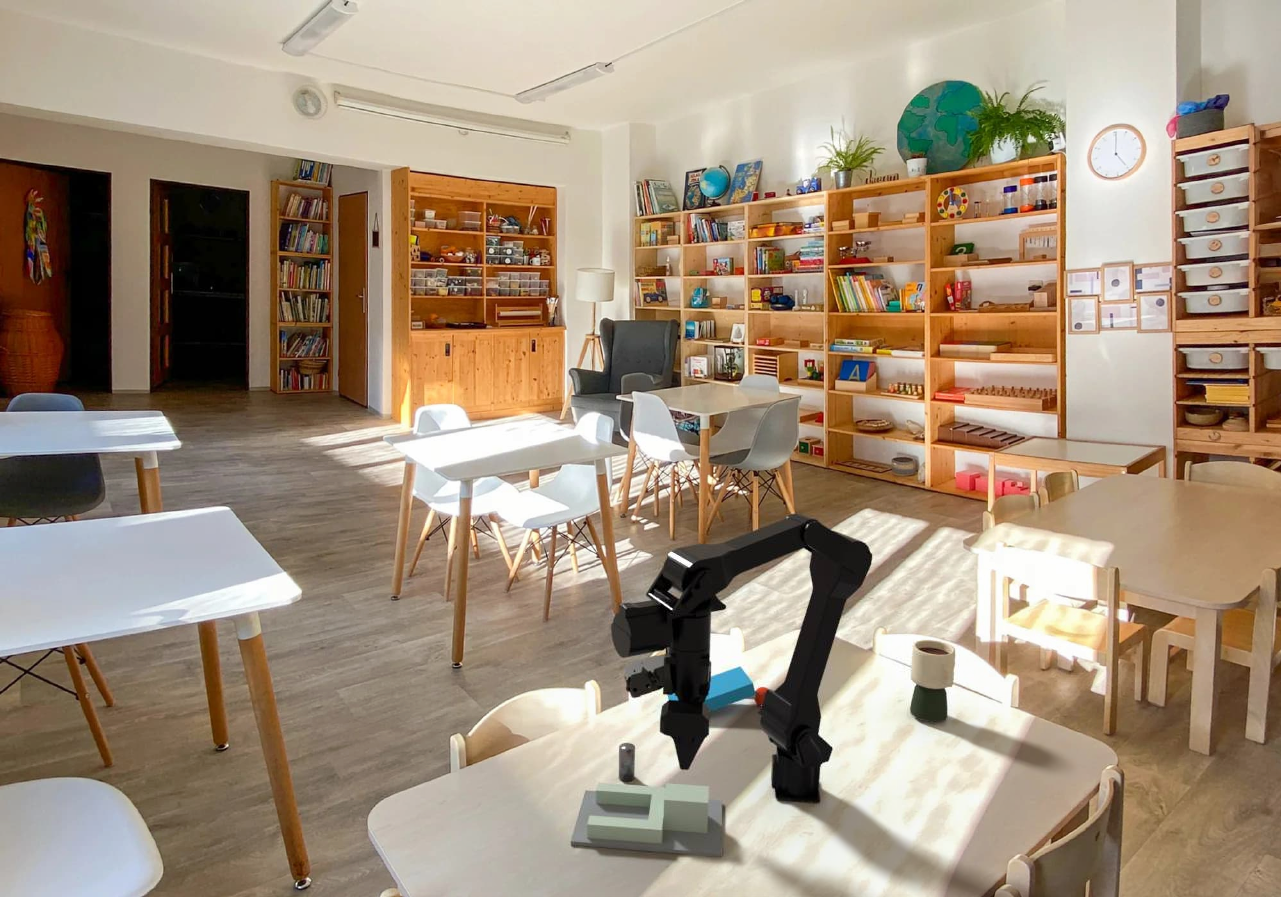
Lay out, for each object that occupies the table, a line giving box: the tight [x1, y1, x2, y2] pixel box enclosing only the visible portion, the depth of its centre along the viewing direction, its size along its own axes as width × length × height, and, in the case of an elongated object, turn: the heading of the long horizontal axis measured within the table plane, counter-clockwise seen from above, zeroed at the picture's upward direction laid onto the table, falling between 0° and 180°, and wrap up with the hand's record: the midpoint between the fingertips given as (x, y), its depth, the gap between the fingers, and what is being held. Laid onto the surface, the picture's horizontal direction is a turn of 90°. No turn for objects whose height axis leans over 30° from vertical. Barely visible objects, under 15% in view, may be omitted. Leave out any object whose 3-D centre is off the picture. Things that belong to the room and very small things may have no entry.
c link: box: [587, 782, 710, 844], centre depth 118 cm, size 16×10×4 cm, turn 85°
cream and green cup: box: [909, 639, 956, 722], centre depth 150 cm, size 11×7×13 cm, turn 17°
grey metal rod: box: [618, 742, 636, 783], centre depth 130 cm, size 2×2×5 cm
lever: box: [667, 666, 769, 712], centre depth 153 cm, size 7×7×18 cm
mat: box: [570, 789, 723, 858], centre depth 119 cm, size 20×12×1 cm, turn 84°
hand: (685, 751), depth 117 cm, fingers open, 9 cm apart
